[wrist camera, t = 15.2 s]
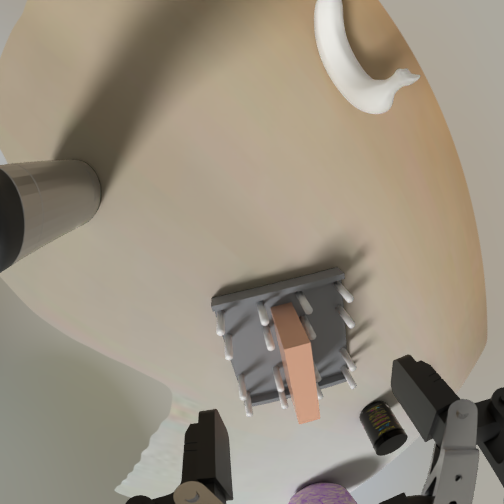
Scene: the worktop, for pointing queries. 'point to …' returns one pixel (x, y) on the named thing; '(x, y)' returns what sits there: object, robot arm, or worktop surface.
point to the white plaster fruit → (352, 63)
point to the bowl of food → (323, 495)
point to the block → (296, 362)
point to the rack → (265, 340)
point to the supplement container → (382, 428)
